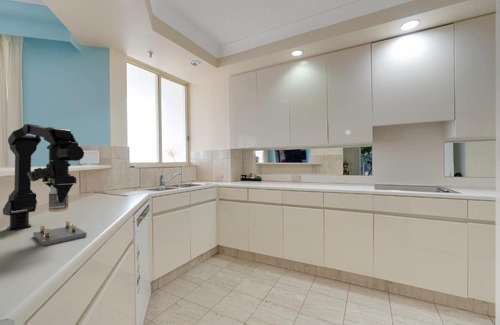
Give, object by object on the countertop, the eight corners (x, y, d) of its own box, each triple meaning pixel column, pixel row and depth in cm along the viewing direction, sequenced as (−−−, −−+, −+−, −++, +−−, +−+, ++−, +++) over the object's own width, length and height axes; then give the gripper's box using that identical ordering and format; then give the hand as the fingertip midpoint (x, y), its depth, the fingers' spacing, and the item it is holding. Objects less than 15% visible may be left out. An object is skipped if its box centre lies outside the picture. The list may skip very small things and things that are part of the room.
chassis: (33, 236, 83) (33, 225, 83) (72, 229, 93) (72, 219, 93) (43, 246, 73) (43, 234, 73) (86, 236, 83) (86, 226, 83)
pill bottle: (70, 210, 85) (71, 184, 85) (51, 213, 80) (51, 185, 81) (65, 208, 88) (65, 183, 88) (46, 211, 83) (46, 185, 84)
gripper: (24, 160, 84) (24, 202, 83) (35, 160, 72) (35, 207, 72) (62, 161, 93) (61, 198, 92) (76, 160, 81) (76, 203, 81)
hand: (58, 201), depth 84 cm, fingers closed on pill bottle, 6 cm apart
